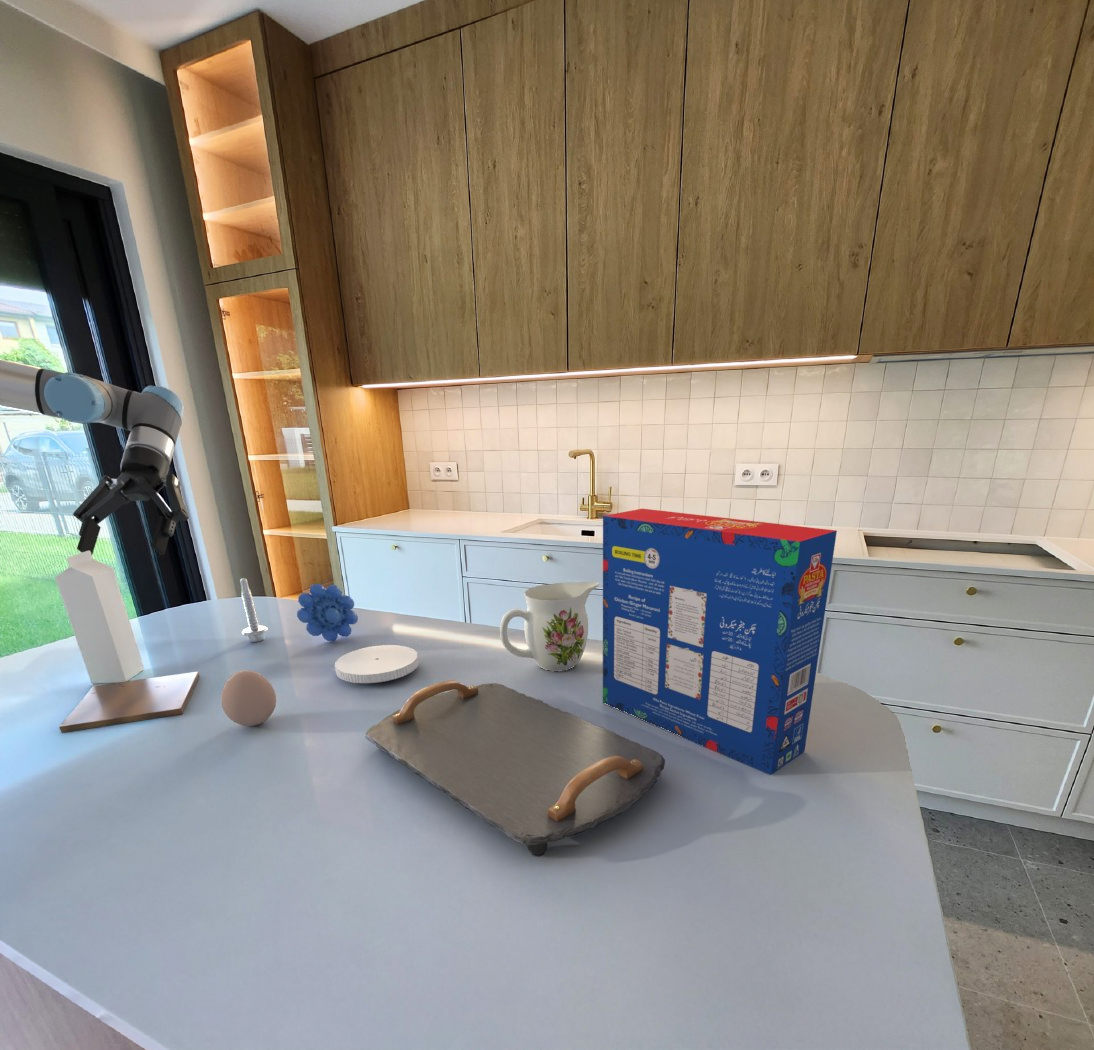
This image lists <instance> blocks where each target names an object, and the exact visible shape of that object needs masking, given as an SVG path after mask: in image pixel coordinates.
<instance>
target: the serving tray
mask: <svg viewBox="0 0 1094 1050" xmlns="http://www.w3.org/2000/svg"><path fill="white" fill-rule="evenodd" d="M543 701H544V700H541V699H537V698H534V697H532V696H528V695H526V694H524V693H522V692H519V691H518V690H516V689H514V688H510V687H508V686H506V685H504V684H500V683H497V682H494V683H481V684H479V685H470V686H467V685H466V684H463V683H462V682H460V681H458V680H445V681H440V682H437V683H434V684H432V685H429V686H426V687H423V688H421V689H420V690H418V691H416V692H414V693H413V694H412V695H411V696H410V697H409V698H408V699H407V700H406V701H405V703H404V704H403V706H402V708H400V709H397V710H396V711H395V712H393V713H391V714H390V715H388V716H386V717H385V718H383V719H382V720H380V721H379V722H378V723H376V724H374V725H372V726H371V727H370V728H369V729H368V730H367V731H366V732H365V734H364V738H365V739H366V740H367V741H369V742H370V743H371V744H373V745H375V746H376V748H380V749H381V750H380V751H382V752H385V753H386V755H389V756H391V757H392V758H394V759H395V760H396V761H397V762H398V763H400V764H402V765H403V766H406V767H407V768H408V769H409V770H411V771H413V772H414V773H415V775H417V776H419V777H421V778H423V779H425V780H426V781H427V782H428V783H429V784H431V785H433V786H435V787H436V788H437V789H438V790H440V791H442V792H443V793H444V794H446V795H448V797H450V798H451V799H452V800H454V801H456V802H458V803H460V804H461V805H462V806H463V807H465V808H466V809H467V810H469V811H471V812H473V814H475V815H477V816H478V817H480V818H481V819H482V820H484V821H485V822H487V823H488V824H490V825H491V826H493V827H494V828H496V829H497V830H499V831H500V832H502V833H503V834H504V835H505V836H507V837H508V838H510V839H512V840H513V841H515V842H517V843H518V844H520V845H522V846H526V848H527V850H528V852H529V853H530V854H531V855H532V856H534V857H541V856H543V855H544V853H545V851H547V848H548V845H549V844H548V843H550V842H555V841H559V840H562V839H564V838H566V837H569V836H574V835H576V834H580V833H582V832H586V831H588V830H591V829H593V828H595V827H596V826H598V825H600V824H602V823H604V822H605V821H608V820H611V819H612V818H614V817H616V816H619V815H620V814H622V813H624V812H625V811H627V810H628V809H630V808H631V807H632V806H634V805H635V804H636V803H637V802H639V801H640V800H641V798H642V797H643V796H644V795H645V794H646V793H647V792H648V791H649V790H651V789H652V788H653V787H654V785H655V784H656V783H657V782H658V778H659V777H661V773H662V771H663V770H664V769H665V764H666V759H665V758H664V756H663V755H662V754H661V753H659V752H658V751H656V750H654V749H652V748H649V747H647V746H645V745H642V744H640V743H639V742H636V741H633V740H630V739H628V738H626V737H624V736H621V735H620V734H617V733H616V732H614V731H611V730H609V729H606V728H604V727H601V726H597V725H595V724H592V723H590V722H588V721H586V720H584V719H583V718H581V717H580V716H577V715H576V714H573V713H570V712H568V711H564V710H562V709H560V708H558V707H554V706H553V705H550V704H548V703H546V702H543Z"/></svg>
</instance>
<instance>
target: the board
mask: <svg viewBox="0 0 1094 1050" xmlns="http://www.w3.org/2000/svg"><path fill="white" fill-rule="evenodd" d="M199 679H200V672H199V670H198V671H191V672H184V673H177V674H176V673H175V674H170V675H169V674H168V675H162V676H156V677H147V678H141V679H135V680H133V679H132V680H128V681H125V682H115V683H103V684H97V685H93V686H92V687H91V689H89V691H88V692H86V694H85V695H84V696H83V698H82V699H81V700H80V701H79V703H78V704H77V705H76V706H75V707H74V709H73V710H72V711H71V712H70V714H69V715H68V716H67V717H66V718H65V719H64V720H63V722H62V723H61V724H60V725H59V730H60V733H62V734H63V733H69V732H75V731H80V730H81V731H82V730H87V729H94V728H100V727H106V726H114V725H120V724H126V723H132V722H140V721H144V720H152V719H158V718H164V717H171V716H178V715H183V713H184V711H185V709H186V707H187V705H188V702H189V701H190V697H191V696H192V694H193V692H194V690H195V687H196V685H197V683H198V681H199Z"/></svg>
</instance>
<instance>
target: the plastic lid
mask: <svg viewBox="0 0 1094 1050" xmlns="http://www.w3.org/2000/svg"><path fill="white" fill-rule="evenodd" d="M419 661H420V660H419V654H418V652H417V650H415V649H413V648H412V647H409V646H407V645H406V646H405V645H398V644H397V645H396V644H383V645H382V644H381V645H372V646H366V647H362V648H357V649H354V650H352V651H350V652H347V653H345V654H343V655H341V656H340V657H339V658H337V659H336V660H335V662H334V669H335V674H336V676H337V678H339V679H340V680H342V681H345V682H347V683H353V684H374V683H382V682H389V681H392V680H396V679H399V678H403V677H405V676H407V675H409V674H411V673H412V672H413V671H415V670H416V669H417V668H418V667H419V664H420V662H419Z"/></svg>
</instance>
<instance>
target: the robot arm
mask: <svg viewBox="0 0 1094 1050" xmlns="http://www.w3.org/2000/svg"><path fill="white" fill-rule="evenodd" d="M0 407H1V408H5V409H6V408H7V409H12V410H16V411H23V412H27V413H32V414H38V415H43V416H47V417H52V418H57V419H61V420H65V421H68V422H69V423H73V424H81V425H87V424H91V423H92V424H94V423H95V424H97V423H100V424H103V425H108V426H111V427H114V428H119V429H123V430H125V431H130V432H129V435H128V439H127V441H126V444H125V447H124V448H125V450H124V452H123V454H122V458H121V462H120V472H121V473H120V475H119V476H118V477H117V478H111V477H109V476H108V475H107V474H103V476H101V479H100V481H99V483H98V484H97V486H96V487H95V488H94V489H93V490H92V492H91V493H89V494H88V496H87V497H86V498H85V499H83V501H82V502H81V504H80V505H79V506H78V507H77V508H76V509H75V510H74V511H73V513H72V516H73V517H75V518H76V519H77V520H78V521H79V522H81V526H80V528H79V531H78V536H79V541H78V544H77V547H76V550H77V551H79V553H82V552H85V551H90V552H91V555H92V556H93V555H94V551H95V548H96V544H97V541H98V538H99V534H100V531H101V526H100V525H99V524H100V523H101V522H103V521H104V520H105V519H106V518H108V517H109V516H110V515H112V514H113V513H114V512H115V511H117V510H118V509H119V508H120V507H122V506H123V505H128V504H129V503H130V502H138V501H143V502H146V501H147V502H148V501H149V500H150V499H152V501H153V502H154V503H155V504H156V506H157V508H159V510H160V511H161V513H162V514H163V515H159V516H158V519H157V523H156V526H155V531H154V535H153V539H152V542H151V545H150V547H151V548H152V549H153V550H155V551H156V552H157V553H158V555H161V556H165V554H166V550H167V547H168V544H169V539H170V538H172V537H173V536H174V533H175V531H176V530H175V529H176V525H177V524H178V523H179V522H180V521H183V522H184V521H188V520H189V517H190V516H189V514H188V511H187V508H186V505H185V501H184V499H183V497H182V494H181V491H180V489H181V482H180V481H179V479H178V478H177V477H176V476H175V475H174V473H172V472H169V471H170V465H171V462H172V459H173V455H174V451H175V448H176V444H177V440H178V438H179V434H180V430H181V427H182V426H183V425H182V424H183V416H184V411H185V406H184V403H183V401H182V399H181V397H180V396H179V395H178V394H177V393H175V392H174V391H173V390H171V389H169V388H167V387H165V386H162V385H148V386H145V388H143V390H142V391H141V392H138V391H134V390H130V389H126V388H123V387H120V386H117V385H115V384H112V383H108V382H105V381H102V380H99V379H96V378H93V377H90V376H88V375H84V374H80V373H75V372H71V371H66V372H61V371H56V370H52V369H46V368H42V367H38V366H33V365H29V364H25V363H20V362H15V361H11V360H6V359H2V358H0ZM164 487H166V490H167V493H168V495H169V498H170V502H171V504H172V507H173V510H171V508H170V507H169V506H168V504H167V503H166V501H165V500H164V498H163V497H162V496H161V495H160V494H159V492H160V491H161V490H162V489H163V488H164ZM120 493H122V495H123V496H122V495H121V494H120Z"/></svg>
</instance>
